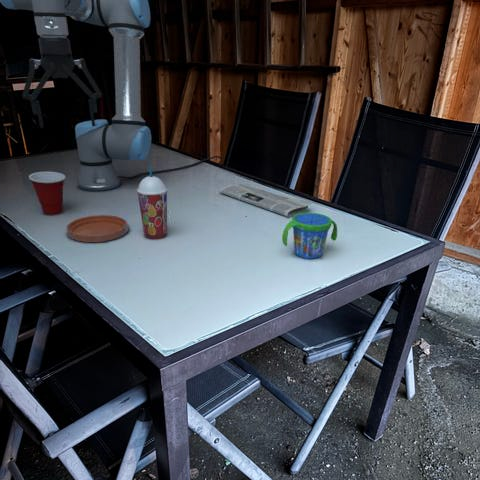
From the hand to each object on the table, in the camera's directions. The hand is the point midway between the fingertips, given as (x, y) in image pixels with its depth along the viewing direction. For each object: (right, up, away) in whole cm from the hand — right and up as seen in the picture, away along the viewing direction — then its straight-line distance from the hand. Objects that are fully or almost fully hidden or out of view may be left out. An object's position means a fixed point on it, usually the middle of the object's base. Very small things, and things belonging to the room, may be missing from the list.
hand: (68, 126), depth 131 cm
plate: (+5, -27, +10) cm, 30 cm away
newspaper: (+57, -12, +38) cm, 69 cm away
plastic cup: (-13, -18, +24) cm, 33 cm away
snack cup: (+66, -36, -1) cm, 75 cm away
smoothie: (+23, -29, +9) cm, 38 cm away
